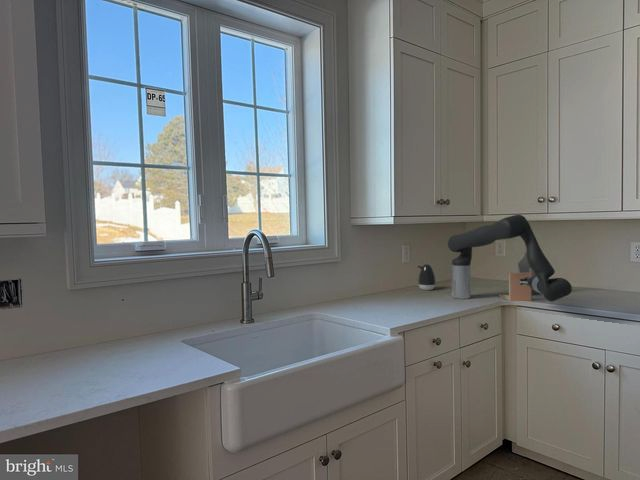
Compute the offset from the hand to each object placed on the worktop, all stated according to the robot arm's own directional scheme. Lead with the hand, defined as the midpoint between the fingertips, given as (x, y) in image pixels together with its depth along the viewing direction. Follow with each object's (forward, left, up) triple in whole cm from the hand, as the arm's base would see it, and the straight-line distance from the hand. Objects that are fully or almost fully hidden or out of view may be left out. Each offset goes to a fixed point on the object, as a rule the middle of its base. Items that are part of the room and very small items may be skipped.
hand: (527, 279), depth 207 cm
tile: (0, +11, -12) cm, 16 cm away
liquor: (+11, +32, -12) cm, 36 cm away
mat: (0, +19, -12) cm, 23 cm away
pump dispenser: (-42, +45, -12) cm, 63 cm away
